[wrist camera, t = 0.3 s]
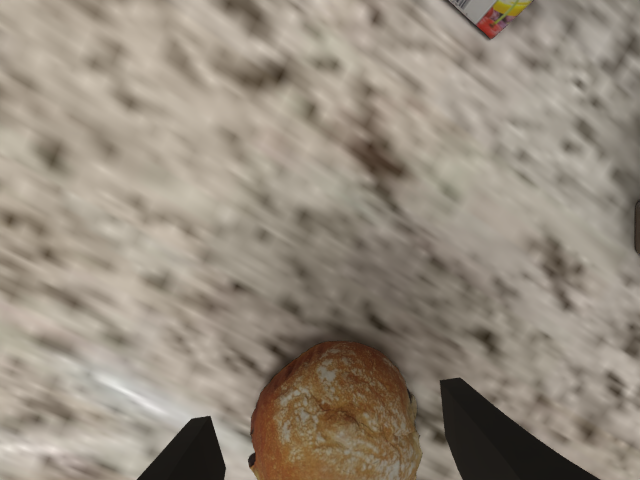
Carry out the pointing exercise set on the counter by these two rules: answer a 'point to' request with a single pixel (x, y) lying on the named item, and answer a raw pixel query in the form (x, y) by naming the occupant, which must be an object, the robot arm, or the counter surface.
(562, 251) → the counter surface
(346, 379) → the bread roll
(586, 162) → the counter surface
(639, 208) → the ceramic cup
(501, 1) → the snack box
